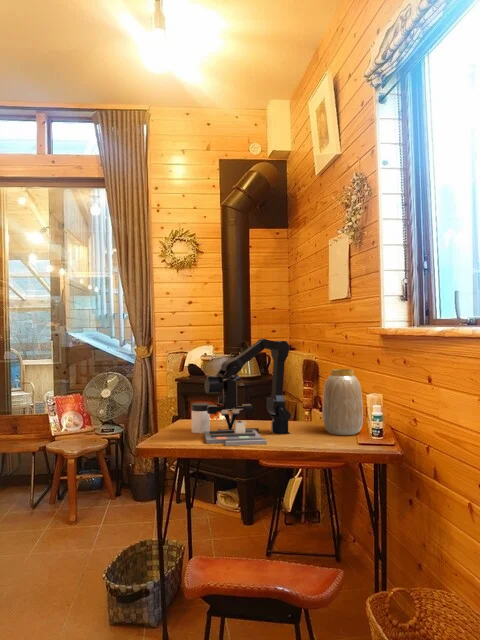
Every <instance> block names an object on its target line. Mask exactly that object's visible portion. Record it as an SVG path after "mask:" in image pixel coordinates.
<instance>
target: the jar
mask: <svg viewBox="0 0 480 640" xmlns="http://www.w3.org/2000/svg"><path fill="white" fill-rule="evenodd" d="M208 405H211V403H209V402H192V404H191V433H195V434H204V431H211V430H210V429H211V419H210V418H211V417H210V415H211V414H208V413H207V406H208Z"/></svg>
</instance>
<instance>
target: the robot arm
mask: <svg viewBox="0 0 480 640" xmlns="http://www.w3.org/2000/svg"><path fill="white" fill-rule="evenodd" d="M264 350H268V351H270V354H271V357H272V360H273V364H272V365H273V367H272V384H271V394H270V397H266V405H265V407H266V409H267V412H268V413H269V414H270V417H271V418H272V421H271V422H270V423H271V427H270V428H271V429H270V430H271V432H272V433H273V434H274V435H286V434H287V435H288V434H290V431H289V420H291V418H292V414H291V413H290V411H288V410H287V406H286V400H285V397H284V380H285V379H284V377H285V365H286V364H285V363H286V360H287V358H288V356H289V353H290V344H289V343H288V342H287V341H285V340H271V339H267V338H259V339H257V341H256V342H255V343H253V344H252V345H250V346H249V347H247V348H246V349H245V350H244V351H242V352H241V353H240V354H239V355H236V356H234V357H232V358H231V357H230V358H229V359H227V360H225V361H223V362H222V363H221V366H220V369H219V371H217V374H216V375H215V376H211V375H207V376H206V379H205V380H204V384H203V385H204V391H205V393H206V394H218V393H222V395H218V396H217V404H218V405H221V406H218V405H217V404H210V405H208V406H207V413H208V414H210V415H216V414H218V412H220V414H221V416H223V417H224V419H225V420H226V423H227V429H229V430H231V429H233V427H234V421H236V420H237V418H238V416H240V414H241V413H240V412H245V414H251V413H252V414H253V413H254V405H252V404H251V403H242V406H240V405H238V382H239V381H242V380H243V379H242V378H241V377H240V376H239V374H238V373H239V372H240V371H241V370H242V369H243V367H244V366H245V364H247V363H248V362H250V361H251V360H252V359H254V358H255V357H256V356H257V355H259V354H260V353H261V352H263V351H264ZM229 412H230V413H229Z"/></svg>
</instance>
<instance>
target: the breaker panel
mask: <svg viewBox="0 0 480 640" xmlns="http://www.w3.org/2000/svg"><path fill="white" fill-rule="evenodd" d="M203 436H204V440H205V442H206V445H211V444H212V445H216V444H218V443H220V444H225V440H239V439H263V437H262V436H261V435H260V434H259V432H257V431H256V430H252V429H249V430H245V433H234V430H220V431H217V430H210V431H204V433H203ZM214 443H215V444H214Z"/></svg>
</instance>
